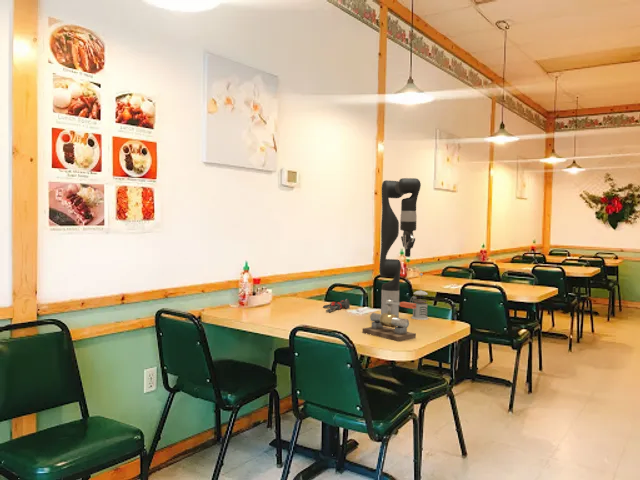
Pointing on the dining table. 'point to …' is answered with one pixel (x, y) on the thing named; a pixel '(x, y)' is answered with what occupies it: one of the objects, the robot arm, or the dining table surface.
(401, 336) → the base board
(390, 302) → the valve lever
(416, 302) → the french press
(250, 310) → the dining table surface
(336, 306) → the valve
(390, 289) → the robot arm
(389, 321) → the pipe valve
